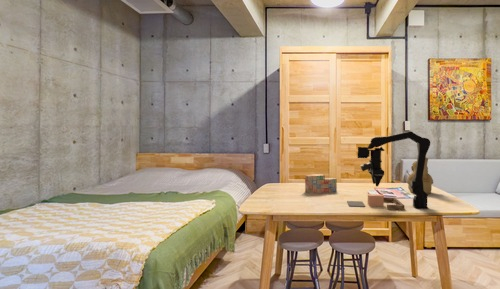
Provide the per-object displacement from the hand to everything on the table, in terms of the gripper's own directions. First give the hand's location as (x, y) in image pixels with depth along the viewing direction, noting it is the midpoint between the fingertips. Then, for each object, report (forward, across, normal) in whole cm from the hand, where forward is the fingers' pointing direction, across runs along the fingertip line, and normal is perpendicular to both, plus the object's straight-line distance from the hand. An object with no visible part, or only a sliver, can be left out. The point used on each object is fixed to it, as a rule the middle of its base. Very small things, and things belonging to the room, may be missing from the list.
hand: (375, 185), depth 202 cm
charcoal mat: (+12, 0, -11) cm, 16 cm away
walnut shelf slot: (+12, 0, +9) cm, 15 cm away
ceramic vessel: (+12, -42, +37) cm, 57 cm away
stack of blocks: (+12, -38, -30) cm, 50 cm away
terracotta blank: (+12, 0, 0) cm, 12 cm away
